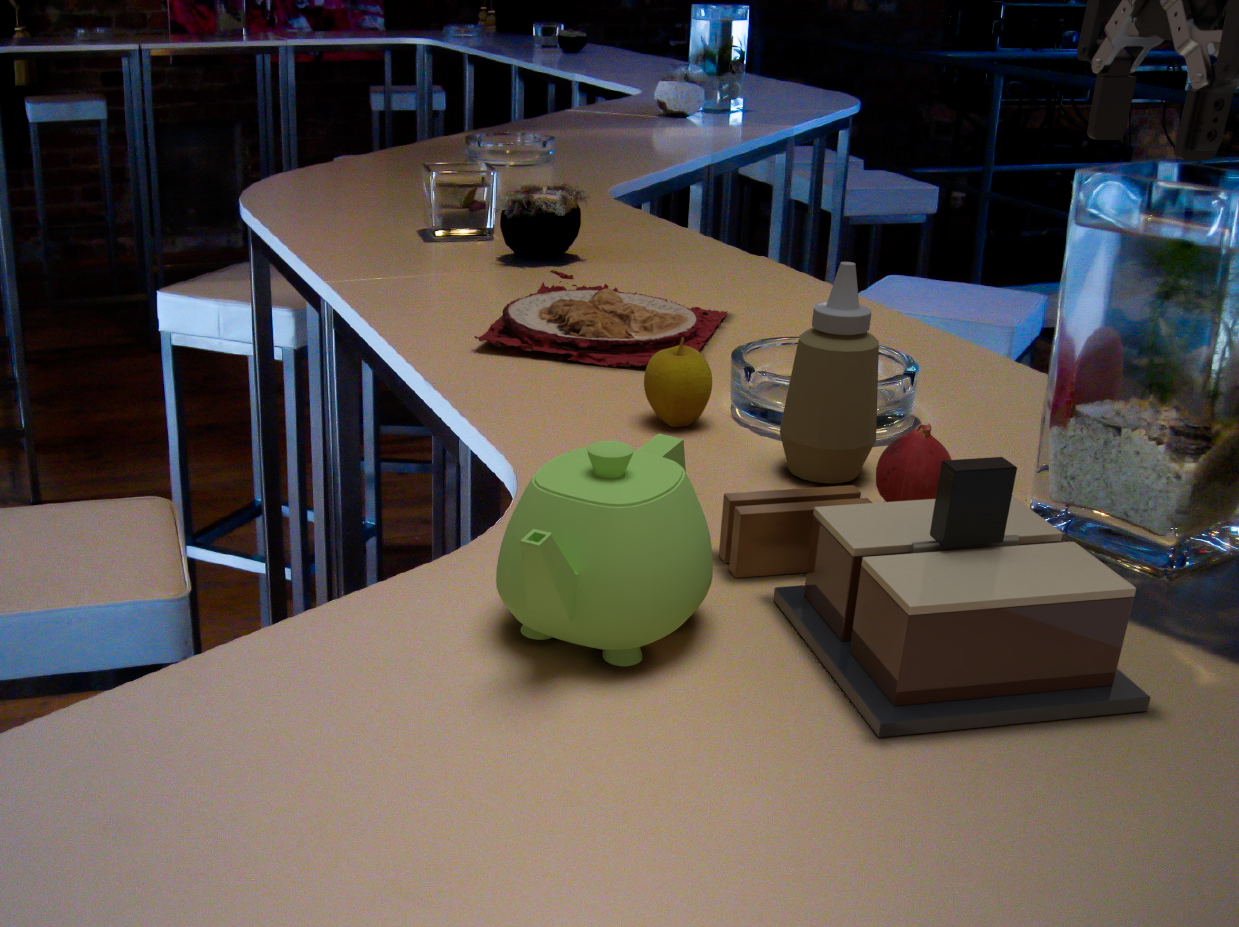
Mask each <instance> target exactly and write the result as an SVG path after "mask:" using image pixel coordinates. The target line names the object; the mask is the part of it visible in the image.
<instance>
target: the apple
mask: <svg viewBox="0 0 1239 927" xmlns="http://www.w3.org/2000/svg"><path fill="white" fill-rule="evenodd" d="M683 342H684V338H683V337H682V339H681V342H680V346H675V347H672V348H668V349H664V350H661V351H659V352H657V353H656V354H655V355H653V356H652V357H651V359H650V360H649V362H648V365H647V367H646V368H645V370H644V376H643V389H644V393H645V397H646V400H647V402H648V403H649V405H650V407H651V409H652V410H653V412H654V413H655V415H656V417H658V418H659V419H660V420H661V421H663V422H664V423H665V424H667V425H669V426H670V427H672V428H680V427H686V426H689V425H690V424H692V423H693V422H696V421H697V420H698V419H699V418H700V417H701V416H702V414H703V413H704V411H705V409H706V407H707V405H708V403H709V400H710V398H711V394H712V390H713V373H712V369H711V367H710V365H709V363H708V360H707V359H706V357H705V356H704V355H703V354H701V352H700V351H699V352H698V351H697V350H695V349H693V348H691V347H688V346H682V344H683Z"/></svg>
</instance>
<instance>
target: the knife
mask: <svg viewBox="0 0 1239 927" xmlns="http://www.w3.org/2000/svg"><path fill="white" fill-rule="evenodd" d="M1017 471H1018V467H1017V466H1016V465H1015V464H1013V463H1012V462H1011V461H1009V460H1007V459H1006V458H1005V457H1003V456H994V457H993V456H992V457H977V458H962V459H959V458H958V459H951V460H943V461H942V462H941V468H940V474H939V480H938V486H937V492H936V499H935V505H934V511H933V517H932V523H931V529H930V536H931V537H932V538H933V539H934V540H936V541H924V542H912V545H911V552H910V554H912V553H925V552H939V551H952V550H966V549H979V548H993V547H1006V546H1018V541H1019V536H1018V535H1005V530H1006V524H1007V519H1008V514H1009V509H1010V503H1011V498H1012V496H1013V491H1014V488H1015V483H1016V482H1015V481H1016V477H1017ZM1004 535H1005V536H1004Z"/></svg>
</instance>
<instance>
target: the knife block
mask: <svg viewBox="0 0 1239 927" xmlns="http://www.w3.org/2000/svg"><path fill="white" fill-rule="evenodd" d="M861 496H862V492H861V491H860V490H859V489H858V488H857V487H856V486H855V485H854V484H851V485H835V486H819V487H817V486H816V487H804V488H803V487H802V488H789V489H786V488H785V489H773V490H757V491H740V492H727V493H726V492H725V493H724V494H723V500H722V512H721V523H720V536H719V545H718V546H719V547H718V557H720V559H721V560H722V561H723V563H724V564H729V565H728V569H729V571H730V573H731V574H732V575H733V577H734V578H735V579H737V578H738V579H739V578H751V577H752V578H753V577H764V576H766V577H767V576H777V575H778V576H779V575H790V574H791V575H793V574H806V573H807V565H808V556H809V548H810V539H811V531H812V522H813V516H814V515H813V513H814V507H821V506H836V505H851V504H866V503H873V501H872V500H870V498H868V497H861Z"/></svg>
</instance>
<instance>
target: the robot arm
mask: <svg viewBox="0 0 1239 927" xmlns="http://www.w3.org/2000/svg"><path fill="white" fill-rule="evenodd" d="M1106 19H1109V20H1108V22H1107V23H1106V25H1105V27H1104V29H1103V30H1104V33H1105V35H1106V36H1105V38H1104V39H1098V38H1099V34H1100V29H1101V24H1102V22H1103V21H1104V20H1106ZM1215 28H1216V29H1215ZM1164 41H1172V42H1173V43H1172V44H1173V47H1174V50H1175V52H1176V53H1177V54H1178V55H1180V56H1182V57H1183V58H1184V61H1185V64H1186V68H1187V72H1188V78H1189V82H1190V86H1191V87H1192V89H1187V91H1186V95H1185V100H1184V104H1183V109H1182V114H1181V118H1180V123H1179V127H1178V132H1177V135H1176V139H1175V145H1174V149H1173V154H1174V156H1175V158H1177V159H1179V160H1183V161H1186V162H1187V161H1210V160H1212V159H1214V158H1215V156H1216V155H1217V154H1218V153H1217V152H1218V150H1219V148H1220V146H1221V144H1222V142H1223V138H1224V134H1225V130H1226V126H1227V122H1228V117H1229V113H1230V110H1231V104H1232V100H1233V96H1234V95H1235V92H1236V90H1237V89H1239V0H1087V1H1086V6H1085V11H1084V16H1083V20H1082V25H1081V30H1080V33H1079V40H1078V43H1077V48H1076V56H1077V60H1079V61H1088V62H1089V64H1091V66H1090V67H1091V71H1092V73H1093V74H1095V75H1096V77H1095V83H1094V89H1093V93H1092V99H1091V105H1090V110H1089V115H1088V124H1087V129H1086V134H1087V136H1088V138H1089V139H1093V140H1097V141H1117V140H1121V139H1122V138H1123V137H1124V136H1125V134H1126V131H1127V127H1128V123H1129V122H1128V121H1129V118H1130V112H1131V108H1132V104H1133V103H1132V102H1133V98H1134V93H1135V89H1136V88H1135V87H1136V85H1137V84H1136V83H1137V80H1138V79H1137V78H1138V76H1134V75H1131V74H1133V73H1135V72H1136V71H1137V69H1138V68H1139V67H1140V65H1141V63H1142V62H1143V61H1144V59H1145V58H1146V57H1147V55H1148V53H1149V52H1150V50H1151V49H1153V48H1155V47H1157V46H1159V45H1161V44H1162V43H1163V42H1164ZM1126 47H1127V49H1125V48H1126ZM1210 56H1214V57H1215V58H1216V62H1214V63H1212V62H1211V57H1210Z"/></svg>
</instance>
